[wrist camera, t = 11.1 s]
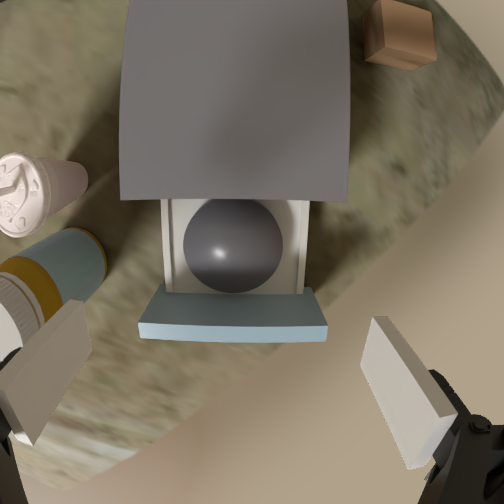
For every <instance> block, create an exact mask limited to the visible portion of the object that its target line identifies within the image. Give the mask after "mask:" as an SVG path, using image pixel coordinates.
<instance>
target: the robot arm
mask: <svg viewBox="0 0 504 504" xmlns="http://www.w3.org/2000/svg"><path fill="white" fill-rule="evenodd" d="M3 1H5V0H0V3H1V2H3ZM92 351H93V349H92V345H91V340H90V335H89V330H88V325H87V320H86V314H85V308H84V302H83V301H79V300H71V299H70V300H69V301H68V302H67V303H66V304H64V305H63V306H62V307H61V308H60V309H59V310H58V311H57V312H56V313H55V314H54V315H53V316H52V317H51V318H50V319H49V320H48V321H47V322H46V323H45V324H44V325H43V326H42V327H41V328H40V329H39V330H38V331H37V333H36V334H35V335H34V336H33V337H32V338H31V339H30V340H29V341H28V342H27V343H26V344H25V345H24V346H23V347H18V348H17V349H15V350H13V351H11V352H10V353H9V354H8V355H7V356H6V357H5V358H4V359H3V361H1V362H0V504H28V501H27V498H26V495H25V492H24V489H23V486H22V482H21V479H20V475H19V472H18V468H17V464H16V460H15V456H14V452H13V448H12V444H11V441H10V438H9V437H8V435H9V433H10V432H11V430H12V431H13V433H14V435H15V436H16V438H17V440H19V441H21V442H23V443H26V444H28V445H31V446H34V444H35V442H36V440H37V439H38V437H39V435H40V434H41V432H42V430H43V428H44V427H45V425H46V423H47V422H48V420H49V418H50V417H51V415H52V413H53V412H54V410H55V408H56V407H57V405H58V404H59V402H60V400H61V399H62V397H63V396H64V394H65V392H66V391H67V389H68V388H69V386H70V385H71V383H72V381H73V380H74V378H75V377H76V375H77V374H78V372H79V371H80V369H81V368H82V366H83V364H84V363H85V361H86V360H87V358H88V357H89V355H90V354H91V352H92ZM360 367H361V369H362V371H363V373H364V375H365V377H366V379H367V381H368V384H369V386H370V387H371V390H372V392H373V394H374V396H375V398H376V400H377V403H378V405H379V407H380V409H381V411H382V413H383V415H384V418H385V420H386V422H387V424H388V426H389V429H390V430H391V433H392V435H393V437H394V439H395V442H396V444H397V446H398V449H399V451H400V453H401V456H402V458H403V460H404V462H405V465H406V467H407V469H408V470H411V469H415V468H418V467H422V466H425V465H426V464H427V463H428V461H429V460H430V458H431V457H432V455H433V457H434V459H435V461H436V463H435V465H434V466H433V468H432V469H431V470H430V472H429V473H428V474H427V476H426V477H425V479H424V480H427V479H428V480H427V483H426V486H425V488H424V490H423V492H422V495H421V497H420V499H419V502H418V504H504V425H492V424H491V422H490V421H489V420H488V419H487V418H485V417H483V416H481V415H476V414H473V415H471V413H470V412H469V411H468V409H467V408H466V406H465V405H464V404H463V402H462V401H461V400H460V398H459V397H458V395H457V394H456V393H454V390H453V388H452V387H451V386H449V383H448V382H447V381H446V379H445V378H444V376H442V375H441V374H440V373H438V372H437V371H435V370H427V368H426V367H425V366H424V364H423V363H422V362H421V360H420V359H419V357H418V356H417V355H416V353H415V352H414V351H413V350H412V348H411V347H410V345H409V344H408V343H407V342H406V340H405V339H404V337H403V336H402V335H401V334H400V332H399V331H398V330H397V328H396V327H395V326H394V324H393V323H392V322H391V321H390V319H389V318H388V317H387V316H373V317H372V320H371V325H370V329H369V333H368V337H367V341H366V345H365V348H364V352H363V356H362V359H361V363H360Z"/></svg>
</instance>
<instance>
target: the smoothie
mask: <svg viewBox="0 0 504 504" xmlns="http://www.w3.org/2000/svg"><path fill="white" fill-rule="evenodd" d="M87 186H88V174H87V172H86V170H85V168H84V167H83V166H82V165H81V164H79V163H77V162H71V161H64V160H56V159H48V158H40V157H35V156H33V155H32V154H30V153H27V152H23V151H22V152H15V153H10V154H7V155H5V156H3V157H2V158H1V159H0V229H1V230H2V231H3V232H4V233H5V234H7V235H9V236H11V237H16V238H19V237H24V236H27V235H30V234H33V233H35V232H36V231H37V230H38V229H40V228H41V226H42V225H43V223H44V222H45V220H47V219H48V218H49V217H51V216H52V215H54V214H55V213H56V212H58V211H59V210H61V209H62V208H64V207H65V206H67V205H69V204H70V203H72V202H73V201H75V200H76V199H78V198H79V197H81V196H82V195H83V194H84V193H85V191H86V189H87Z"/></svg>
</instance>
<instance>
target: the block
mask: <svg viewBox="0 0 504 504" xmlns="http://www.w3.org/2000/svg"><path fill="white" fill-rule="evenodd" d="M362 29H363V47H364V61H366V62H371V63H377V64H382V65H387V66H391V67H396V68H400V69H405V70H409V71H412V70H414V69H416V68H419V67H421V66H424V65H426V64H429V63H431V62H434V61H436V60H437V59H436V48H435V38H434V30H433V22H432V15H431V12H429V11H426V10H423V9H420V8H417V7H414V6H411V5H408V4H404V3H401V2H397V1H394V0H377V1H376V2H375V3H374V4H373V5H372V6H371V7H370V8H369V9H368V11H367V12H366V13H365V14H364V15H363V16H362Z"/></svg>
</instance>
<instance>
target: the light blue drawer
mask: <svg viewBox="0 0 504 504" xmlns="http://www.w3.org/2000/svg"><path fill="white" fill-rule="evenodd" d="M210 200H212V199H161V221H162V241H163V257H164V271H165V283H166V285H160V286H159V288H158V289H157V291H156V293H155V294H154V296H153V298H152V299H151V301H150V303H149V304H148V306H147V308H146V310H145V311H144V313H143V315H142V316H141V318H140V320H139V322H138V326H139V332H140V338H149V339H164V340H182V341H206V342H313V341H314V342H316V341H326V336H327V330H328V324H327V322H326V320H325V318H324V315H323V313H322V311H321V309H320V306H319V304H318V302H317V300H316V298H315V295H314V293H313V291H312V289H311V287H304V277H305V264H306V251H307V236H308V220H309V202H310V201H303V200H268V199H254V200H256V201H258V202H260V203H261V204H263V205H264V206H265V207H266V208H267V209H268V210H269V211H270V212H271V213H272V215H273V216H274V218H275V220H276V222H277V224H278V226H279V228H280V231H281V234H282V239H283V253H282V257H281V261H280V263H279V266H278V267H277V269H276V271H275V272H274V274H273V275H272V276H271V277H270V278H269V279H268V280H267V281H266V282H265V283H264V284H262V285H261V286H259V287H257V288H255V289H253V290H250V291H247V292H242V293H225V292H220V291H217V290H214V289H212V288H209V287H208V286H206V285H204V284H203V283H202V282H201V281H199V280H198V279H197V278H196V277H195V276H194V274H193V273H192V272H191V270H190V268H189V267H188V265H187V262H186V260H185V256H184V251H183V239H184V234H185V230H186V228H187V225H188V223H189V222H190V220H191V218H192V217H193V216H194V214H195V213H196V212H197V211H198V209H199V208H200V207H202V206H203V205H204V204H205V203H207V202H208V201H210Z"/></svg>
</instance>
